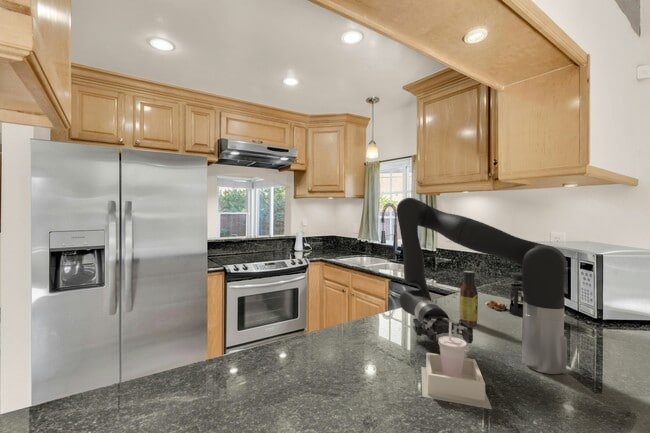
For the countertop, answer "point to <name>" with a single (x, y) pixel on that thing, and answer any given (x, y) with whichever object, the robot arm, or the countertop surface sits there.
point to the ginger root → (496, 305)
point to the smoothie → (452, 354)
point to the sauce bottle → (469, 299)
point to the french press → (516, 296)
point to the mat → (425, 394)
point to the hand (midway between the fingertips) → (452, 339)
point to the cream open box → (455, 381)
